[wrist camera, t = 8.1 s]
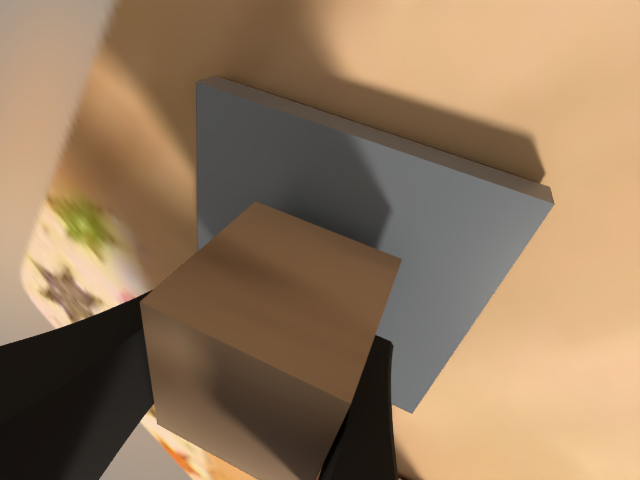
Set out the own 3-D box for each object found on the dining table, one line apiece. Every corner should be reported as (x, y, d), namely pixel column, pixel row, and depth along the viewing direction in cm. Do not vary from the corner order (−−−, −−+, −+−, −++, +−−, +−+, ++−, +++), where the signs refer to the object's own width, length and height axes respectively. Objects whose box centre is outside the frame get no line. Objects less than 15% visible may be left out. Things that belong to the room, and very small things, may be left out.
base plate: (416, 392, 16) (411, 413, 15) (210, 298, 18) (197, 312, 17) (549, 187, 10) (554, 204, 9) (216, 75, 12) (196, 81, 11)
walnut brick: (356, 365, 13) (303, 505, 10) (243, 313, 14) (157, 423, 10) (402, 259, 10) (350, 404, 7) (255, 201, 11) (139, 301, 7)
